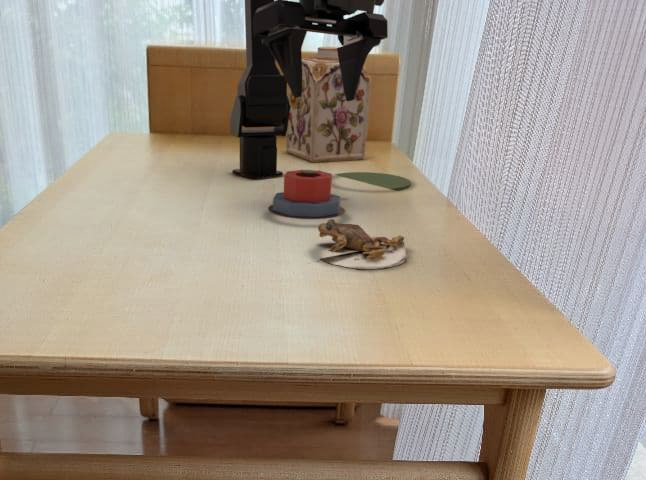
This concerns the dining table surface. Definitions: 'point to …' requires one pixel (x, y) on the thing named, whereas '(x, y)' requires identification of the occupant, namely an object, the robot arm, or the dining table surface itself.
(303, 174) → the stacker
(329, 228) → the frog figurine
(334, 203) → the bottom ring
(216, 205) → the dining table surface
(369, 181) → the mat
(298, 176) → the top ring
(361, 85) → the decorative jar
